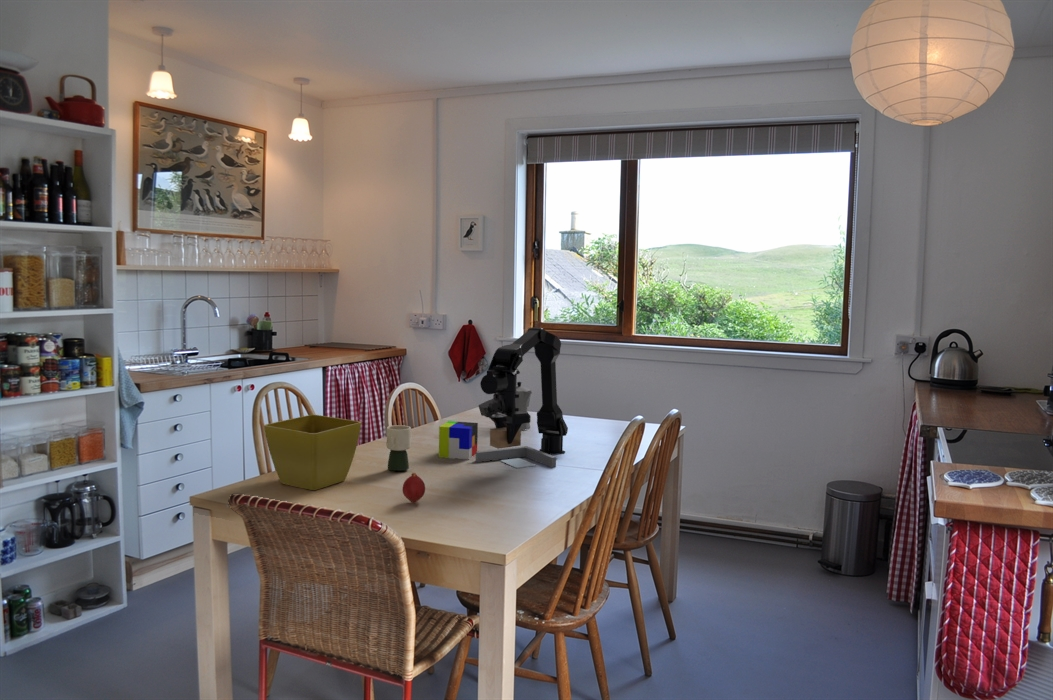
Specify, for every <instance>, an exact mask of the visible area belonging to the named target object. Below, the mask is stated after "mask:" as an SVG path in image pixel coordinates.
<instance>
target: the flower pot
mask: <svg viewBox="0 0 1053 700" xmlns="http://www.w3.org/2000/svg"><path fill="white" fill-rule="evenodd" d="M361 425H362V422H361V421H357V420H352V419H346V418H339V417H334V416H327V415H319V414H308V415H303V416H297V417H293V418H290V419H289V418H287V419H284V420H280V421H275V422H272V423H266V424H264V425H263V429H264V435H265V439H266V444H267V447H268V451H269V454H270V458H271V461H272V463H273V466H274V468H275V471H276V473H277V476H278V479H279V481H280V483H281V484H282V485H286V486H291V487H296V488H301V489H304V490H305V489H306V490H309V491H317V490H321V489H323V488H326V487H330V486H333V485H335V484H338V483H341V482H344V481H345V480H346V479H347V476H348V474H349V471H350V469H351V466H352V462H353V460H354V457H355V453H356V450H357V446H358V442H359V436H360V431H361V427H362V426H361Z"/></svg>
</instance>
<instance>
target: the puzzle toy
mask: <svg viewBox="0 0 1053 700" xmlns="http://www.w3.org/2000/svg"><path fill="white" fill-rule="evenodd" d="M478 426H479V423H478V422H470V421H469V422H468V421H457V420H456V421H454V420H453V421H452V420H448V421H446V422H444V423H443V424H442V425H440V426H439V428H438V458H442V457H445V458H446V459H455V458H458V459H457V460H468V459H469V460H470V459H472V458H473V457H475V456H476V452H478V436H479V435H478V433H479V431H478V430H479V427H478ZM472 456H473V457H472ZM445 458H444V459H445Z"/></svg>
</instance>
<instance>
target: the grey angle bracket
mask: <svg viewBox="0 0 1053 700" xmlns="http://www.w3.org/2000/svg"><path fill="white" fill-rule="evenodd" d="M525 456H526V458H527V459H531V460H533V461H536V462H538V463H541V464H542V465H545V466H547V467H550V468H555V467H557V456H554V455H552V454H547V453H544V452H542V451H539V449H536V448H533V447H531V446H528V445H525V446H514V447H507V448H499V449H498V448H496V449H490V450H489V449H488V450H482V451H477V452H476V454H475V462H476V463H481V462H482V461H484V462H490V460H492V461H499V460H498V459H501V460H508V458H509V459H516V458H524V457H525Z"/></svg>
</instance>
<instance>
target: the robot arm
mask: <svg viewBox="0 0 1053 700" xmlns="http://www.w3.org/2000/svg"><path fill="white" fill-rule="evenodd" d="M561 347H562V341H561V339H560V338H559V337H558V336H557V335H555V334H552V333H551V332H548V331H547V330H546V329H544V328H543V327H529V328H527V330H526V332H525V333H523V334H522V335H521V336H519V337H518V338H517V339H516V340H515V341H513V342H512V343H509V344H506V345H502V346H500V347H497V349H496V350H495V351H494V353H493V356H492V359H491V361H490V364H489V366H488V369H487V370H486V374H485V375H483V377H482V378H481V381H480V383H479V385H480V389H481V390H482V392H483V393H485V395H493V398H491V399H488V400H487V401H484V402H482V403H480V404H479V405H478V408H479V411H480V415H481V417H482V416H483V417H485V418H489V419H490V420H491V421H492V422H493V423H494V425H495V428H504V427H506V429H507V441H508V444H511V443H512V441H513V440H514V438H515V436H516V434H517V432H518V430H519V428H520V427H521V425H522V424H524V423H530V424H531V422H532V421H531V414H529V412H528V413H526V412H523V411H519V408H517V407H516V398H519V394H516V387H517V382H518V381H517V379H518V378H517V377H518V375H520V374H521V373H520V371H519V369H518V368H519V366H520V365H521V364H522V363H523V361H524V358H523V357H524V355H526V354H527V353H528V352H529V351H530V350H531V349H533V348H534V355H535V357H536V359H537V360H538V362H539V363H540V381H541V385H540V386H541V407H540V409H539V410H538V411H537V412H536V424H537V431H538V432H537V433H538V434H542V436H541V441H540V448H539V449H538V451H541V452H544V453H546V454H549V455H555V454H557V455H558V454H565V453H566V450H563V449H564V448H563V447H564V446H563V445H564V437H566V436H567V434H568V431H569V428H568V425H567V423H566V421H565V420H564V415H563V411H562V409H561V407H560V406H559V404H558V396H557V395H558V393H557V391H558V390H557V371H556V370H557V368H556V365H557V364H556V361H557V359H558V358H559V356H560V354H561ZM516 411H518V412H516Z"/></svg>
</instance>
